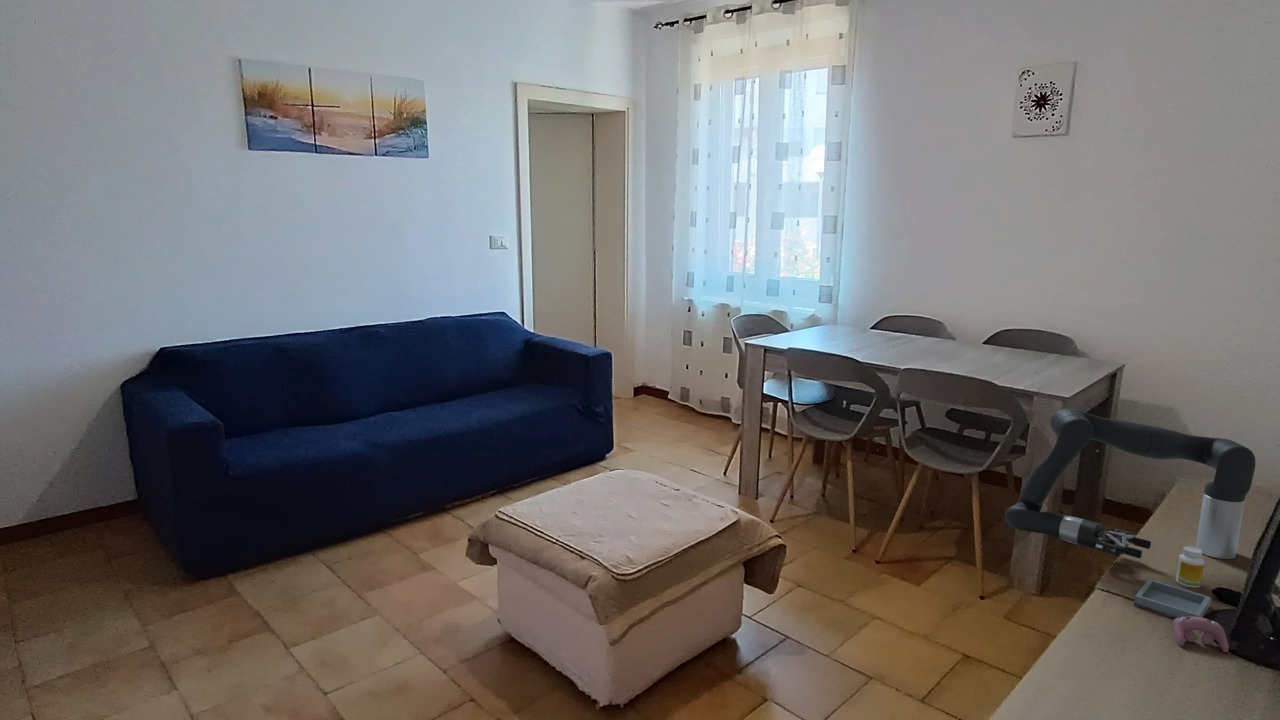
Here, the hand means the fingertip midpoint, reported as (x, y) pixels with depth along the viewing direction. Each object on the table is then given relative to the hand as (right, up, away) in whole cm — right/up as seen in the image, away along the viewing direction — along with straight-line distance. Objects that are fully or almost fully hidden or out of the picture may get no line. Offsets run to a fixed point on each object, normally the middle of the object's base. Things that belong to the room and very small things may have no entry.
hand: (1146, 549), depth 199 cm
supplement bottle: (+7, -7, -6) cm, 12 cm away
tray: (-6, -9, -18) cm, 21 cm away
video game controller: (-12, -13, -34) cm, 38 cm away
